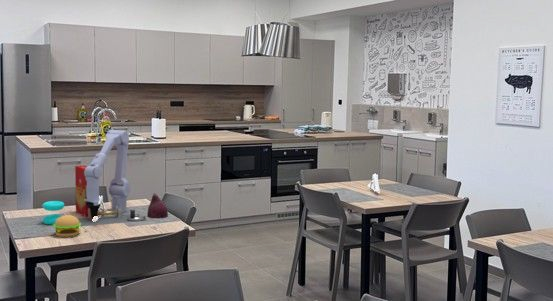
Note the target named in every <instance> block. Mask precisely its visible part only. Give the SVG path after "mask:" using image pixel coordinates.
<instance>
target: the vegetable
mask: <svg viewBox="0 0 553 301" xmlns="http://www.w3.org/2000/svg"><path fill="white" fill-rule="evenodd" d="M146 215H147V218H149V219H166V218H168V216H169V213H168V208H167V206H166V204H165V203H164V201H163V200H162V199H161V198H160V197H159V195H158V194H157V193H154V192H153V194H152V197H151V200H150V202H149V205H148V208H147V214H146Z"/></svg>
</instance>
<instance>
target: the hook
mask: <svg viewBox="0 0 553 301" xmlns="http://www.w3.org/2000/svg"><path fill="white" fill-rule="evenodd" d="M116 214H118V210H117V211H112V210H105V211H103V210H102V211H98V214H97V216H98V215H99V216H112V215H116ZM99 216H98V217H99ZM87 218H88V219H89V220H92V217H91V211H90V208H88V217H87Z"/></svg>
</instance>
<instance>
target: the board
mask: <svg viewBox="0 0 553 301" xmlns="http://www.w3.org/2000/svg"><path fill="white" fill-rule="evenodd" d="M135 215H140V214H139V213H135ZM122 216H123V218H119V219H117V218H116V217H115V215H102V216H100V217H101V218H99V219H98V221H96V222H93V221H92V220H89V219H88V217H80V218H78V217H77V219H78V220H79V223H81V225H80V227H87V226H100V225H101V226H102V225H111V224H112V225H113V224H122V223H135V222H136V223H137V222H138V221H128V220H127V216H130V214H129V213H128V214H122ZM145 221H147V222H148V219H146V218H145V220H142V221H141V222H145Z"/></svg>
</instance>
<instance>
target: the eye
mask: <svg viewBox="0 0 553 301" xmlns="http://www.w3.org/2000/svg"><path fill="white" fill-rule="evenodd" d="M117 210H118V214H114V216H115V217H116V218H117V219H119V218H123V216H122V215H123V213H122V207H121V206H119V205H117V206H116V211H117Z"/></svg>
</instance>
